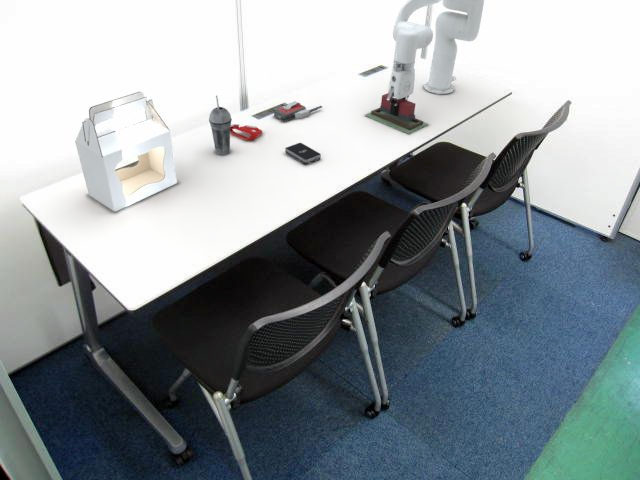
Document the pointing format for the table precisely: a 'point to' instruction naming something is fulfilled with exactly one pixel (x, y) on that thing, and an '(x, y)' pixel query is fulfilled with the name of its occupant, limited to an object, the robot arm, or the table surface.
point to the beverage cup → (220, 129)
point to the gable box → (125, 153)
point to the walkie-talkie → (292, 111)
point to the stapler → (399, 108)
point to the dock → (396, 121)
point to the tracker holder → (248, 129)
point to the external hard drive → (303, 153)
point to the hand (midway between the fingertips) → (397, 112)
